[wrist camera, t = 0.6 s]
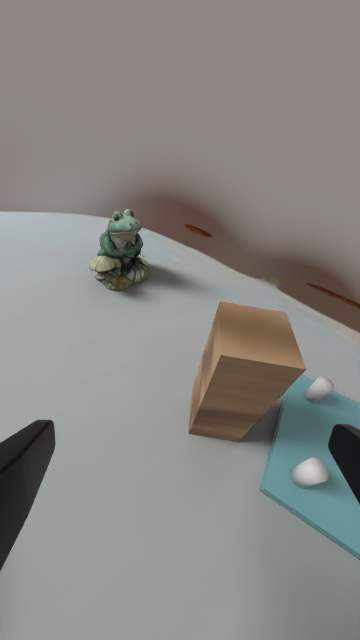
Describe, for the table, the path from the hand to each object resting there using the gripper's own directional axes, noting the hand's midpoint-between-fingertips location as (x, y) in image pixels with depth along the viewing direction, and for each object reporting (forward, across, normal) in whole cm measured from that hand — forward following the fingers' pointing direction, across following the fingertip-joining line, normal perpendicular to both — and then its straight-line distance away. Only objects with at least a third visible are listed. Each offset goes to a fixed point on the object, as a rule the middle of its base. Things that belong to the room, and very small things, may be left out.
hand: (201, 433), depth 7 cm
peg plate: (+10, -18, +12) cm, 24 cm away
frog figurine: (+36, +9, -1) cm, 37 cm away
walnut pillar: (+14, -5, +10) cm, 18 cm away
